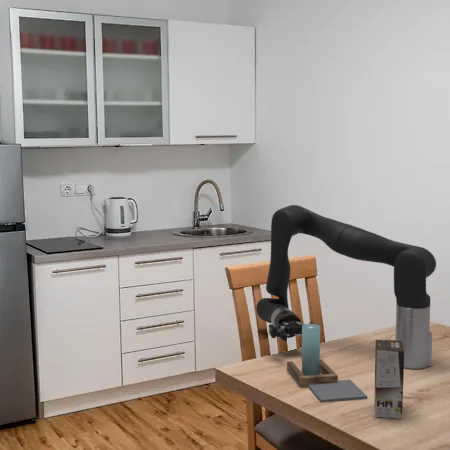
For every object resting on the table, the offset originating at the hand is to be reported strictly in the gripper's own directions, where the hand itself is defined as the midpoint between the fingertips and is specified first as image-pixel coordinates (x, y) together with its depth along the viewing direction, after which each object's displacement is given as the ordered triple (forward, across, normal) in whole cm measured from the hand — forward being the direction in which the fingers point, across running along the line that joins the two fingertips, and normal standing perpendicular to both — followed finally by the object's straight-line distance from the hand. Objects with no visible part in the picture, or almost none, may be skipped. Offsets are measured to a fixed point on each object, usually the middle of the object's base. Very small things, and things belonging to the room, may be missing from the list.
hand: (300, 337), depth 195 cm
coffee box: (+36, +11, +8) cm, 39 cm away
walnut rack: (+10, 0, +8) cm, 13 cm away
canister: (+10, 0, +8) cm, 13 cm away
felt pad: (+22, +3, +8) cm, 24 cm away
